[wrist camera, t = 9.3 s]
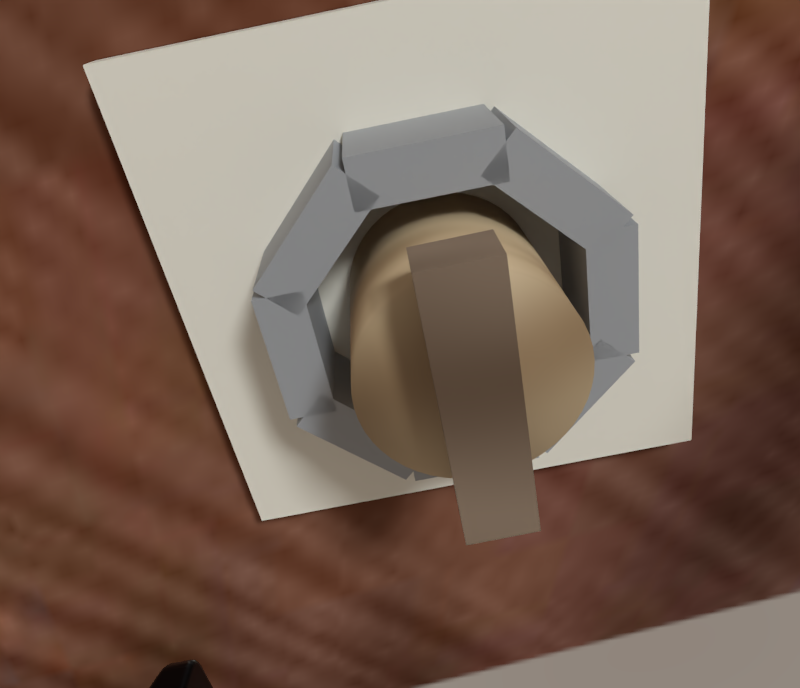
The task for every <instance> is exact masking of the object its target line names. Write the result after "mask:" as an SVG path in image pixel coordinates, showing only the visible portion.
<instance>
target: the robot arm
mask: <svg viewBox="0 0 800 688" xmlns="http://www.w3.org/2000/svg"><path fill="white" fill-rule="evenodd" d="M150 688H213V687H212V685H211V683H210V682H209V680H208V678H207V676H206V674H205V672H204V670H203V669H202V667H201V665H200V664H199V662H197V661H196V660H187V661H182V662H176V663H171V664H169V665H167V666H166V667H164V668H163V669H162V671H161V672H160V673H159V675H158V676H157V677H156V679H155V680H154V682H153V683H152V685H151V686H150Z"/></svg>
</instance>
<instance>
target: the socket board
mask: <svg viewBox="0 0 800 688" xmlns="http://www.w3.org/2000/svg"><path fill="white" fill-rule="evenodd" d="M708 25H709V0H379V1H374V2H369V3H364V4H360V5H355V6H350V7H346V8H341V9H336V10H331V11H327V12H322V13H317V14H312V15H308V16H303V17H298V18H294V19H289V20H284V21H279V22H275V23H270V24H265V25H261V26H256V27H251V28H246V29H242V30H237V31H232V32H228V33H223V34H218V35H213V36H209V37H204V38H199V39H195V40H190V41H185V42H180V43H176V44H171V45H166V46H162V47H157V48H152V49H147V50H143V51H138V52H133V53H129V54H124V55H119V56H114V57H110V58H105V59H100V60H96V61H92V62H90V63H87V64H84V65H83V67H84V70H85V73H86V75H87V78H88V80H89V83H90V85H91V88H92V90H93V93H94V95H95V98H96V100H97V103H98V106H99V108H100V111H101V113H102V116H103V118H104V121H105V123H106V126H107V128H108V131H109V134H110V136H111V139H112V141H113V144H114V146H115V149H116V151H117V154H118V156H119V159H120V161H121V164H122V167H123V169H124V172H125V174H126V177H127V179H128V182H129V184H130V187H131V189H132V192H133V195H134V197H135V200H136V202H137V205H138V207H139V210H140V212H141V215H142V217H143V220H144V223H145V225H146V228H147V230H148V233H149V235H150V238H151V240H152V243H153V245H154V248H155V250H156V253H157V256H158V258H159V261H160V263H161V266H162V268H163V271H164V273H165V276H166V278H167V281H168V284H169V286H170V289H171V291H172V294H173V296H174V299H175V301H176V304H177V306H178V309H179V311H180V314H181V317H182V319H183V322H184V324H185V327H186V329H187V332H188V334H189V337H190V339H191V342H192V345H193V347H194V350H195V352H196V355H197V357H198V360H199V362H200V365H201V367H202V370H203V372H204V375H205V378H206V380H207V383H208V385H209V388H210V390H211V393H212V395H213V398H214V400H215V403H216V406H217V408H218V411H219V413H220V416H221V418H222V421H223V423H224V426H225V428H226V431H227V433H228V436H229V439H230V441H231V444H232V446H233V449H234V451H235V454H236V456H237V459H238V461H239V464H240V467H241V469H242V472H243V474H244V477H245V479H246V482H247V484H248V487H249V489H250V492H251V494H252V497H253V500H254V502H255V505H256V507H257V510H258V512H259V515H260V517H261V520H262V521H264V520H270V519H275V518H280V517H286V516H291V515H296V514H301V513H307V512H312V511H317V510H323V509H328V508H333V507H339V506H344V505H349V504H355V503H360V502H365V501H371V500H376V499H381V498H386V497H392V496H397V495H402V494H408V493H413V492H418V491H424V490H429V489H434V488H440V487H445V486H450V485H454V483H453V478H443V477H437V476H431V475H428V474H424V473H421V472H417V471H415V470H412V469H410V468H408V467H405V466H403V465H402V464H400V463H398V462H396V461H394V460H393V459H391V458H390V457H389V456H387V455H386V454H385V453H383V452H382V451H381V450H380V449H379V448H378V447H377V446H376V445H375V444H374V443H373V442H372V441H371V439H370V438H369V437H368V435H367V434H366V433H365V431H364V430H363V428H362V426H361V424H360V422H359V420H358V418H357V415H356V412H355V410H354V406H353V401H352V396H351V357H350V271H351V266H352V262H353V258H354V255H355V253H356V251H357V248H358V246H359V244H360V242H361V241H362V239H363V237H364V236H365V234H366V233H367V232H368V230H369V229H370V228H371V227H372V225H373V224H374V223H375V222H376V221H377V220H378V219H379V218H380V217H382V216H383V215H384V214H386V213H387V212H388V211H390V210H391V209H392V208H394V207H396V206H398V205H399V204H401V203H406V202H411V201H416V200H421V199H426V198H431V197H436V196H441V195H446V194H451V193H464V194H469V195H473V196H477V197H480V198H482V199H484V200H487V201H489V202H491V203H493V204H495V205H496V206H498V207H500V208H501V209H502V210H504V211H505V212H506V213H507V214H509V215H510V216H511V217H512V218H513V219H514V220H515V222H516V223H517V224H518V225H519V227H520V228H521V229H522V231H523V232H524V234H525V235H526V237H527V238H528V240H529V241H530V243H531V244H532V246H533V247H534V249H535V250H536V252H537V253H538V255H539V256H540V257H541V259H542V260H543V262H544V263H545V265H546V266H547V268H548V269H549V271H550V272H551V274H552V275H553V277H554V278H555V280H556V281H557V283H558V284H559V286H560V287H561V289H562V290H563V292H564V293H565V295H566V296H567V298H568V299H569V301H570V302H571V304H572V305H573V307H574V308H575V310H576V311H577V313H578V314H579V315H580V317H581V318H582V320H583V322H584V324H585V326H586V328H587V330H588V332H589V335H590V338H591V341H592V345H593V351H594V358H595V367H594V378H593V384H592V388H591V391H590V394H589V397H588V400H587V402H586V404H585V406H584V408H583V411H582V412H581V414H580V415H579V417H578V419H577V420H576V422H575V423H574V425H573V426H572V427H571V428H570V429H569V431H568V432H567V433H566V434H565V435H564V436H563V437H562V438H561V439H560V440H559V441H558V442H557V443H556V444H555V445H553V446H552V447H551V448H549V449H548V450H547V451H546V452H544V453H543V454H541V455H540V456H538V457H536V458H535V459H533V460H532V464H533V470H535V469H541V468H546V467H551V466H557V465H562V464H567V463H572V462H578V461H583V460H588V459H594V458H599V457H604V456H610V455H615V454H620V453H626V452H631V451H636V450H642V449H647V448H652V447H658V446H663V445H668V444H673V443H679V442H684V441H689V440H691V438H692V413H693V389H694V365H695V341H696V316H697V292H698V268H699V243H700V219H701V195H702V171H703V146H704V122H705V98H706V73H707V49H708Z"/></svg>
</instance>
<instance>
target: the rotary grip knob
mask: <svg viewBox="0 0 800 688" xmlns="http://www.w3.org/2000/svg"><path fill="white" fill-rule="evenodd" d="M350 357H351V396H352V401H353V406H354V410H355V412H356V415H357V418H358V420H359V422H360V424H361V426H362V428H363V430H364V431H365V433H366V434H367V435H368V437H369V438H370V439H371V441H372V442H373V443H374V444H375V445H376V446H377V447H378V448H379V449H380V450H381V451H382V452H383V453H385V454H386V455H387V456H389V457H390V458H391V459H393V460H394V461H396V462H398V463H400V464H402V465H403V466H405V467H408V468H410V469H412V470H415V471H417V472H421V473H424V474H428V475H431V476H437V477H443V478H453V483H454V488H455V493H456V498H457V503H458V508H459V512H460V517H461V522H462V527H463V531H464V536H465V541H466V545H471V544H476V543H481V542H486V541H491V540H496V539H502V538H507V537H512V536H517V535H522V534H527V533H533V532H538V531H541V529H540V521H539V513H538V505H537V497H536V488H535V480H534V472H533V464H532V460H533V459H535V458H536V457H538V456H540V455H541V454H543V453H544V452H546V451H547V450H548V449H549V448H551V447H552V446H553V445H555V444H556V443H557V442H558V441H559V440H560V439H561V438H562V437H563V436H564V435H565V434H566V433H567V432H568V431H569V429H570V428H571V427H572V426H573V425H574V423H575V422H576V420H577V419H578V417H579V415H580V414H581V412H582V411H583V408H584V406H585V404H586V402H587V400H588V397H589V394H590V391H591V388H592V384H593V378H594V367H595V358H594V351H593V345H592V341H591V338H590V335H589V332H588V330H587V328H586V326H585V324H584V322H583V320H582V318H581V317H580V315H579V314H578V313H577V311H576V310H575V308H574V307H573V305H572V304H571V302H570V301H569V299H568V298H567V296H566V295H565V293H564V292H563V290H562V289H561V287H560V286H559V284H558V283H557V281H556V280H555V278H554V277H553V275H552V274H551V272H550V271H549V269H548V268H547V266H546V265H545V263H544V262H543V260H542V259H541V257H540V256H539V255H538V253H537V252H536V250H535V249H534V247H533V246H532V244H531V243H530V241H529V240H528V238H527V237H526V235H525V234H524V232H523V231H522V229H521V228H520V227H519V225H518V224H517V223H516V222H515V220H514V219H513V218H512V217H511V216H510V215H509V214H507V213H506V212H505V211H504V210H502V209H501V208H500V207H498V206H496V205H495V204H493V203H491V202H489V201H487V200H484V199H482V198H480V197H477V196H473V195H469V194H464V193H451V194H446V195H441V196H436V197H431V198H426V199H421V200H416V201H411V202H406V203H401V204H399V205H398V206H396V207H394V208H392V209H391V210H390V211H388V212H387V213H386V214H384V215H383V216H382V217H380V218H379V219H378V220H377V221H376V222H375V223H374V224H373V225H372V227H371V228H370V229H369V230H368V232H367V233H366V234H365V236H364V237H363V239H362V241H361V242H360V244H359V246H358V248H357V251H356V253H355V255H354V258H353V262H352V266H351V271H350Z"/></svg>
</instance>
